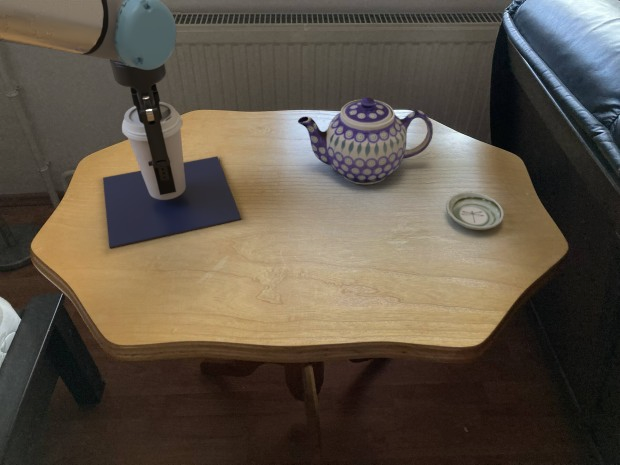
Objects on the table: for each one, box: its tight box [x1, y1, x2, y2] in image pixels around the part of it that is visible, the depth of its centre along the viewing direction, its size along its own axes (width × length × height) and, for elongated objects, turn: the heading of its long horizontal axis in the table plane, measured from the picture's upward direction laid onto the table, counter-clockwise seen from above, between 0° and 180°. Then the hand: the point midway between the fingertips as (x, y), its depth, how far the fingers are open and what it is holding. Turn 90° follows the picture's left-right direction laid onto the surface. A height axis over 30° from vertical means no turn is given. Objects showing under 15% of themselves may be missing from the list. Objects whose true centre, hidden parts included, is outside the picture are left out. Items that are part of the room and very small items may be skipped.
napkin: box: [102, 155, 242, 249], centre depth 93 cm, size 22×20×1 cm
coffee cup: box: [121, 101, 186, 200], centre depth 86 cm, size 10×10×15 cm
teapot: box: [297, 96, 434, 185], centre depth 95 cm, size 25×15×15 cm, turn 91°
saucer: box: [445, 191, 505, 231], centre depth 88 cm, size 10×10×2 cm
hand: (164, 179), depth 90 cm, fingers closed on coffee cup, 7 cm apart
